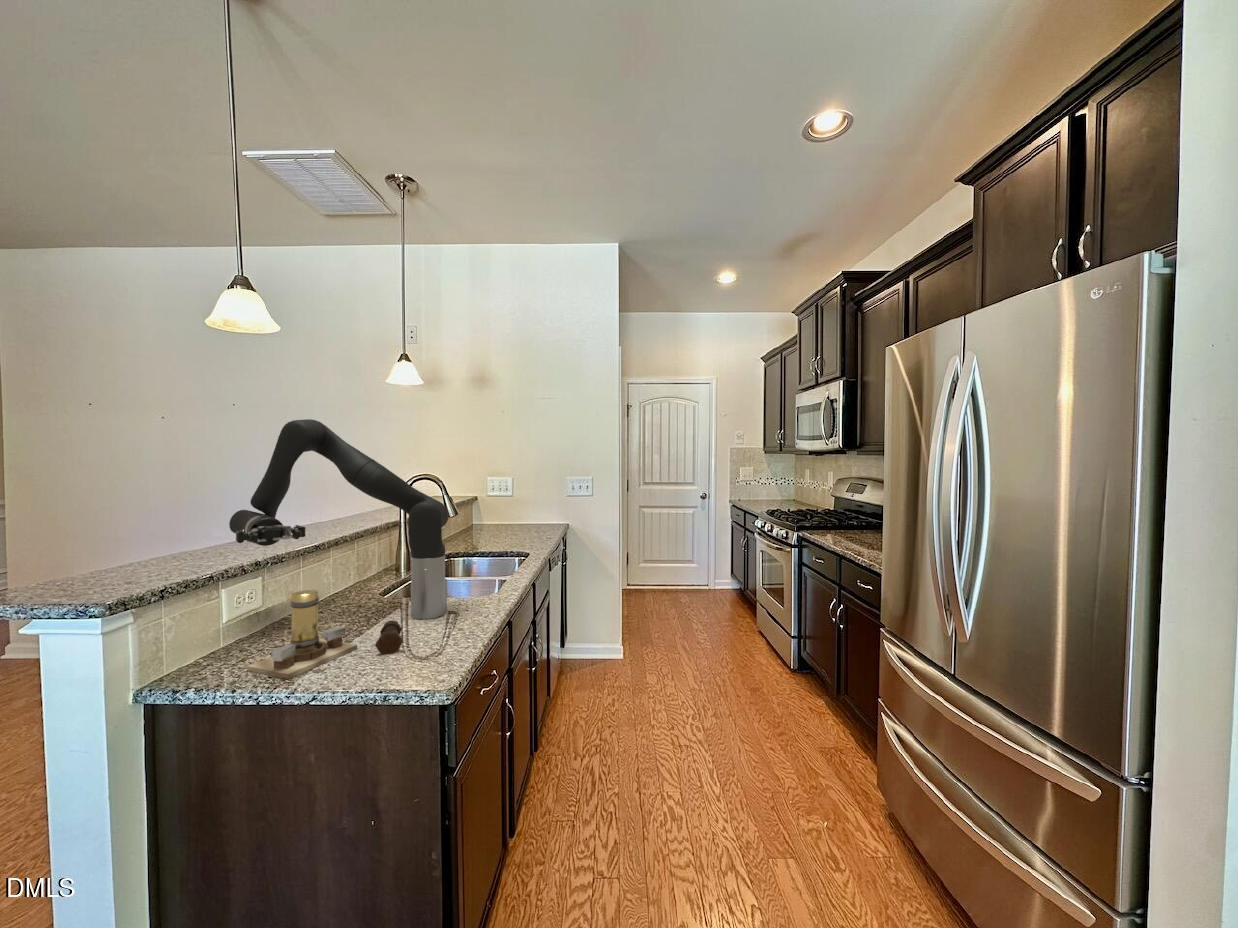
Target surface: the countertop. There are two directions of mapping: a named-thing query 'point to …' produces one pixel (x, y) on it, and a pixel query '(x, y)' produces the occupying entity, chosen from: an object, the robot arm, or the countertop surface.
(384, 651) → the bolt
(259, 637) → the countertop surface
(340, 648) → the coupling base
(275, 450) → the robot arm
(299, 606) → the cylinder
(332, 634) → the pair of grey blocks
